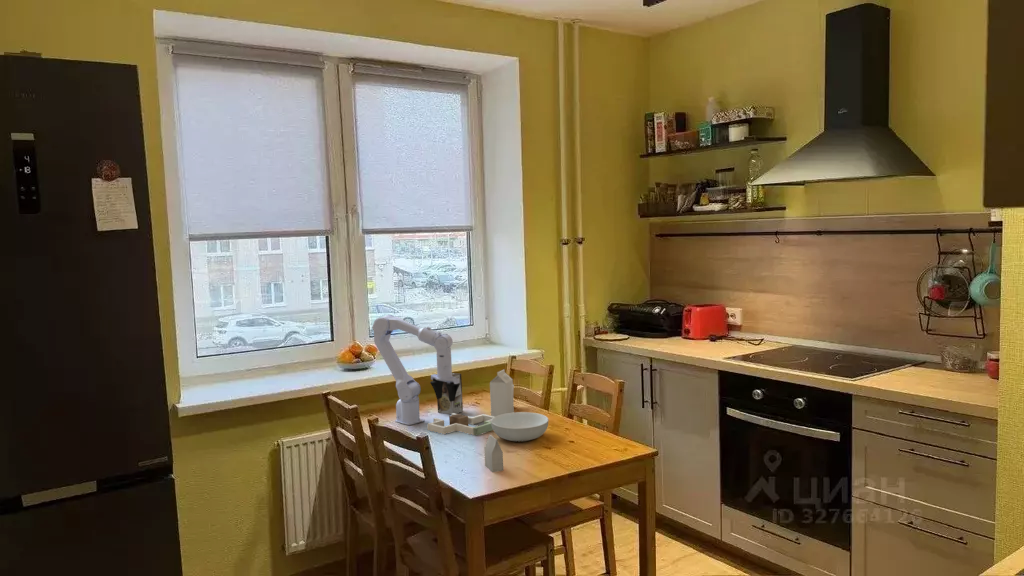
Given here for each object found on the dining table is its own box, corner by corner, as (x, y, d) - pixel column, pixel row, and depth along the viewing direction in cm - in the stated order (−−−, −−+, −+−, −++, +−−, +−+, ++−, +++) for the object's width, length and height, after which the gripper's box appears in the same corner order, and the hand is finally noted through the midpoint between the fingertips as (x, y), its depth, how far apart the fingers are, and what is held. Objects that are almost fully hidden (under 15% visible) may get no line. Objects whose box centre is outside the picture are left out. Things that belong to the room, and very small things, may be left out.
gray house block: (492, 472, 221) (491, 440, 220) (485, 466, 227) (483, 435, 226) (503, 470, 222) (502, 439, 221) (495, 464, 229) (494, 433, 228)
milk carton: (491, 419, 283) (489, 372, 282) (498, 414, 290) (496, 368, 288) (507, 420, 281) (505, 373, 279) (514, 415, 287) (512, 369, 286)
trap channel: (421, 428, 273) (421, 421, 273) (465, 415, 290) (465, 409, 289) (463, 439, 257) (462, 432, 256) (507, 425, 273) (506, 418, 273)
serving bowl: (482, 444, 250) (482, 425, 250) (503, 428, 270) (503, 410, 269) (538, 448, 243) (538, 429, 243) (556, 431, 263) (555, 413, 262)
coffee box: (463, 411, 297) (462, 373, 296) (454, 415, 292) (452, 376, 291) (446, 409, 302) (444, 371, 301) (437, 412, 297) (435, 374, 296)
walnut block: (449, 426, 276) (449, 416, 276) (458, 423, 279) (458, 413, 279) (459, 428, 272) (459, 418, 271) (468, 426, 275) (468, 416, 274)
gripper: (424, 365, 280) (425, 399, 281) (449, 369, 270) (450, 404, 271) (438, 362, 285) (439, 395, 286) (462, 366, 275) (463, 400, 276)
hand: (445, 399), depth 279 cm, fingers open, 7 cm apart
